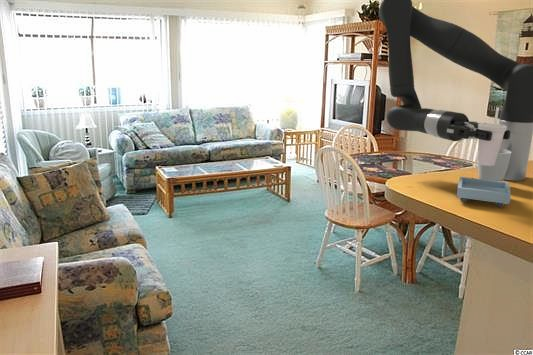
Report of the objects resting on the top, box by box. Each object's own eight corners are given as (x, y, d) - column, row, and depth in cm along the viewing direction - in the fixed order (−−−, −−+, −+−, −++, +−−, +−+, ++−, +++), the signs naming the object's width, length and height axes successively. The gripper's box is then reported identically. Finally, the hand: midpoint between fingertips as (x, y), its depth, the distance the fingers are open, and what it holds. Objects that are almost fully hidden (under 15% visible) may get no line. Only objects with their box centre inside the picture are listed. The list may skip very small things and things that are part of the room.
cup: (502, 182, 130) (507, 148, 127) (508, 190, 122) (514, 154, 119) (472, 179, 132) (476, 146, 129) (476, 187, 124) (481, 152, 122)
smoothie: (503, 168, 107) (514, 109, 103) (475, 166, 108) (484, 108, 104) (496, 161, 113) (505, 106, 109) (469, 160, 114) (477, 105, 110)
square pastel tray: (458, 191, 120) (460, 176, 119) (506, 197, 116) (508, 182, 115) (455, 203, 110) (457, 187, 109) (508, 210, 105) (511, 194, 104)
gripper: (427, 111, 117) (481, 121, 102) (467, 110, 123) (523, 119, 108) (424, 139, 119) (476, 153, 104) (463, 137, 125) (517, 149, 110)
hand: (499, 135), depth 106 cm, fingers closed on smoothie, 5 cm apart
